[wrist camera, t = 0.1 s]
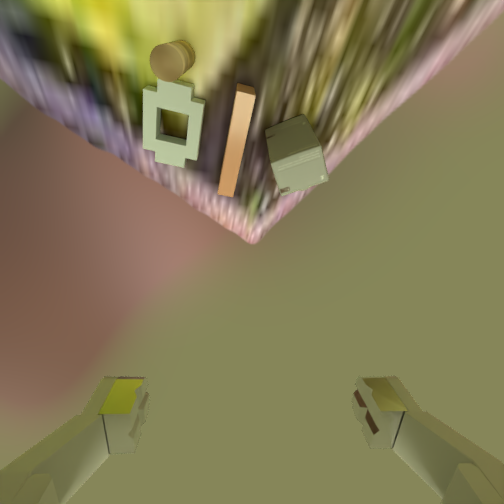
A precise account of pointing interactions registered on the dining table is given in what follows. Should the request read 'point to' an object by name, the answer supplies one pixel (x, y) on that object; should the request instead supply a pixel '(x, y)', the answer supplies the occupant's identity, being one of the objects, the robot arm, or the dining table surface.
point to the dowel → (172, 60)
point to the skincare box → (295, 155)
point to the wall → (236, 138)
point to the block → (178, 100)
